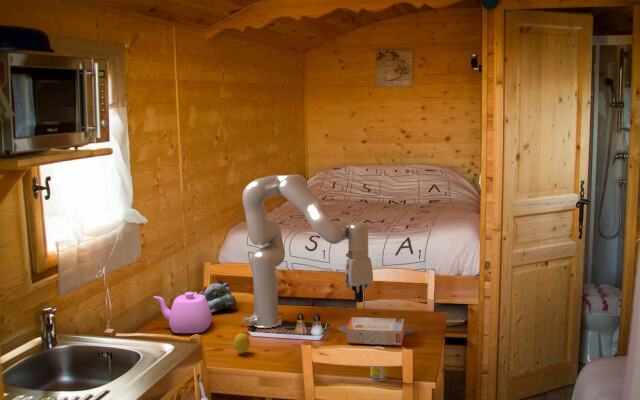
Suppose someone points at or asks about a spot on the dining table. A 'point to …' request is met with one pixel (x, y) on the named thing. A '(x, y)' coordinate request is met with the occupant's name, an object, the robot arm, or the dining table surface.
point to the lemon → (241, 343)
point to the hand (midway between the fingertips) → (359, 301)
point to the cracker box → (375, 331)
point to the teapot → (187, 313)
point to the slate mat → (407, 331)
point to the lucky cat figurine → (218, 296)
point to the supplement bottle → (378, 372)
